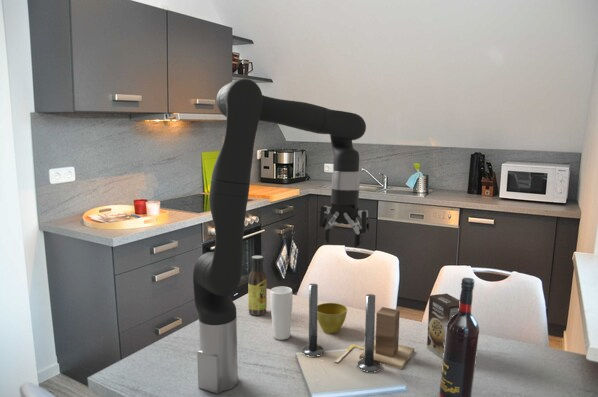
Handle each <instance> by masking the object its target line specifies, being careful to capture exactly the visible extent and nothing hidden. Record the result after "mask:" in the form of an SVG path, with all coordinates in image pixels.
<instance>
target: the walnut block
mask: <svg viewBox="0 0 598 397" xmlns="http://www.w3.org/2000/svg"><path fill="white" fill-rule="evenodd" d="M400 312H401V311H400V309H396V308H388V307H384V306H382V307H380V309H379V310H378V311H377V312H376V313H375V318H376V320H375V321H376V322H375V339H376V350H375V354H379V355H383V356H387V357H391V358H393V357H394V355H395V354H396V353H397V351H398V345H399V342H400V341H399V337H400V315H401V314H400Z"/></svg>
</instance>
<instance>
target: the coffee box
mask: <svg viewBox="0 0 598 397" xmlns="http://www.w3.org/2000/svg"><path fill="white" fill-rule="evenodd" d="M428 297H429V298H428V316H427V317H428V318H427V338H426V342H427V343H426V348H427V349H428V350H429V351H430V352H432V353H433V354H434V355H436V356H437V357H439V358H440V359H441V360H443V353H444V345H445V337H446V327H447V323H448V321H449V320H450V319H451V318H452V316H453V315H455V314H456V313H457V312H458V309H459V301H461V300H460V299H458V298H456V297H454V296H452V295H450V294H448V293H442V294H441V293H438V294H432V295H428Z"/></svg>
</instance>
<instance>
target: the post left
mask: <svg viewBox="0 0 598 397" xmlns="http://www.w3.org/2000/svg"><path fill="white" fill-rule="evenodd" d="M318 285H319V284H318V283H309V285H308V345H305V346H303V347H302V354H303V353H304V354H305V355H309V356H317V355H321V354H322V355H324V348H323V347H322V346H321V345H319V344H318V319H317V310H318V305H319V304H318V300H319V299H318V297H319V296H318V295H319V294H318V287H319V286H318ZM304 354H303V355H304ZM305 355H304V356H305ZM322 355H321V356H322Z"/></svg>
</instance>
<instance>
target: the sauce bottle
mask: <svg viewBox="0 0 598 397" xmlns="http://www.w3.org/2000/svg"><path fill="white" fill-rule="evenodd" d="M267 280H268V279H267V275H266V273H265V271H264V256H263V255H253V256H251V271H250V272H249V274H248V287H247V289H248V292H247V295H248V296H247V298H248V300H247V302H248V304H247V305H248V307H247V308H248V313H249V314H250V315H252V316H261V315H264V314H266V312H267V305H268V303H267V302H268V301H267V300H268V298H267V293H268V292H267V291H268V290H267V287H268V286H267V283H268V282H267Z"/></svg>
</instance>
